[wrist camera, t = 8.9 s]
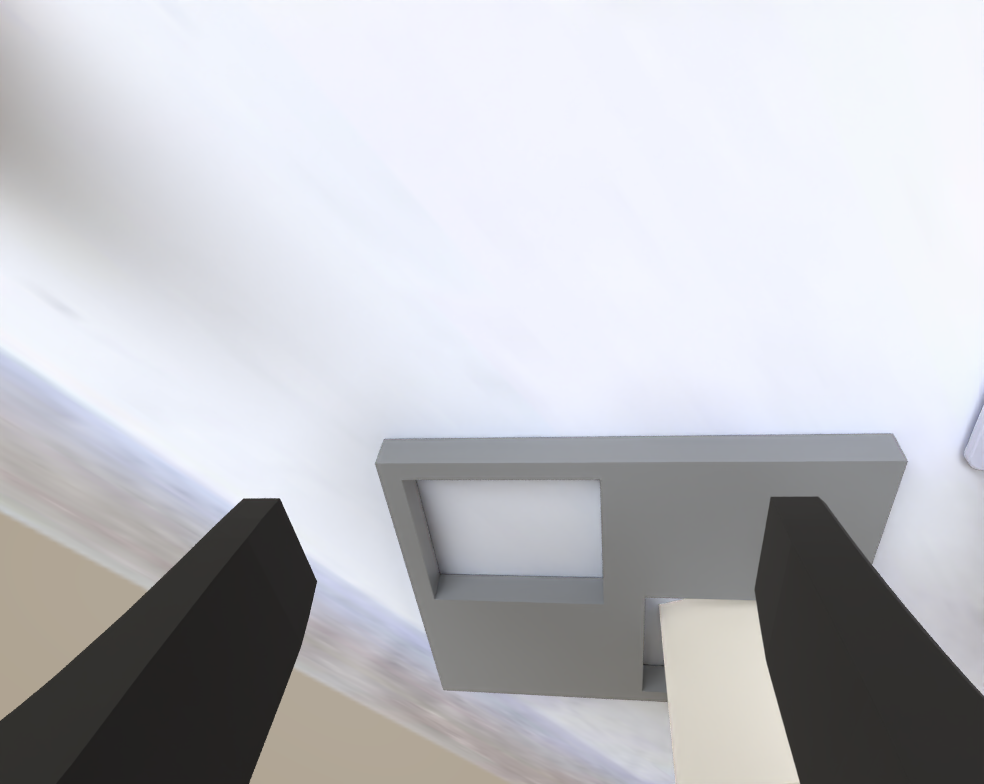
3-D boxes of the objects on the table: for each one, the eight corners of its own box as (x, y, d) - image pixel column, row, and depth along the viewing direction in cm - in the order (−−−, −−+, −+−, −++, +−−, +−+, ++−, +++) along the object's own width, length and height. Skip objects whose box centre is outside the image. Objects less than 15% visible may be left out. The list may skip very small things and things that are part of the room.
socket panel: (892, 433, 20) (907, 461, 19) (814, 682, 29) (821, 710, 28) (384, 439, 23) (375, 463, 22) (447, 665, 31) (443, 690, 30)
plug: (761, 582, 25) (816, 810, 19) (789, 640, 27) (848, 864, 21) (658, 604, 27) (679, 822, 21) (692, 658, 29) (720, 871, 22)
